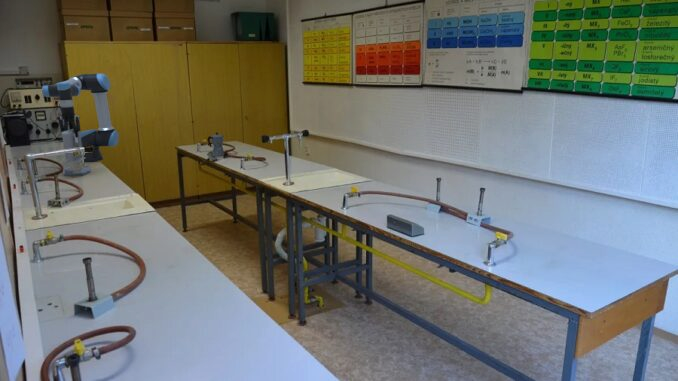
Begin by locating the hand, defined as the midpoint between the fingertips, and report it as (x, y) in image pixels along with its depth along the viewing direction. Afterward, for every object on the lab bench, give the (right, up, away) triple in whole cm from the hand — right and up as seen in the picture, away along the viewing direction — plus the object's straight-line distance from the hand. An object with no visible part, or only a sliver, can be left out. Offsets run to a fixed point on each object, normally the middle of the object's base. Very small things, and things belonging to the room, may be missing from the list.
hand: (72, 142), depth 325 cm
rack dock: (0, -21, +5) cm, 21 cm away
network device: (+1, -12, +2) cm, 12 cm away
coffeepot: (+79, -4, +64) cm, 102 cm away
